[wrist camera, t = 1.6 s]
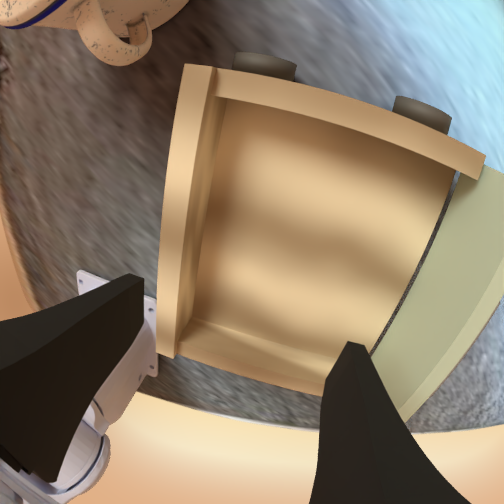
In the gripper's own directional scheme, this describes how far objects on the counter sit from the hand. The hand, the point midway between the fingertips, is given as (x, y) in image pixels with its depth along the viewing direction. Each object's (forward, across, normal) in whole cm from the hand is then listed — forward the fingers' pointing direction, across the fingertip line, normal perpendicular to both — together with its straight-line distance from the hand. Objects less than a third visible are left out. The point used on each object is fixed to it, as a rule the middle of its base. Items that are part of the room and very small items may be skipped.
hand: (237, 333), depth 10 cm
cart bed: (+9, -2, 0) cm, 10 cm away
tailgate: (+7, -9, 0) cm, 11 cm away
